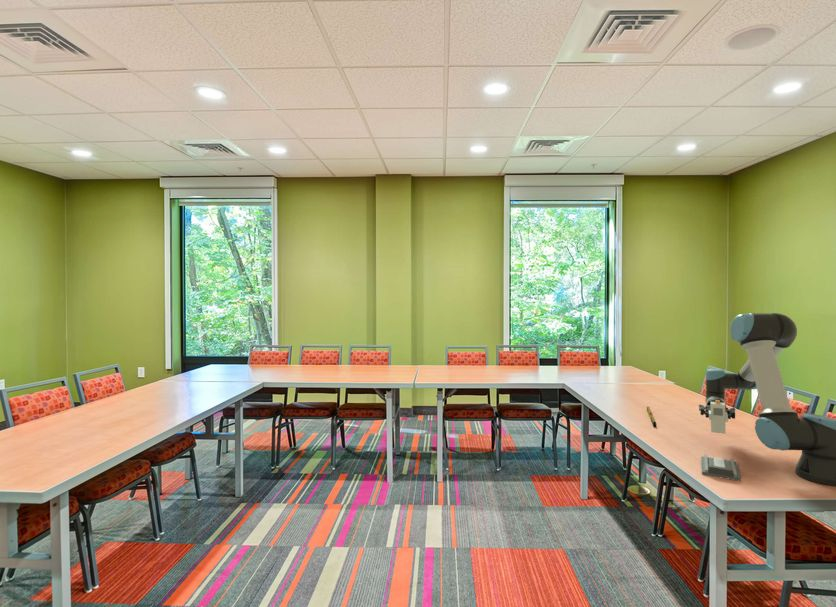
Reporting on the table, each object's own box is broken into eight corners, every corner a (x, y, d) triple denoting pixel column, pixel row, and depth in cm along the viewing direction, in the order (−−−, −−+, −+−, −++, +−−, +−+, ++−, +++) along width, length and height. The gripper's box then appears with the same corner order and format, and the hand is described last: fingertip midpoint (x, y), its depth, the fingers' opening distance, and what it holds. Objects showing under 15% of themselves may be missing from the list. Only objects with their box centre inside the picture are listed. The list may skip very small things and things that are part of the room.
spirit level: (646, 411, 260) (646, 406, 260) (649, 411, 259) (649, 406, 259) (653, 427, 229) (653, 421, 229) (656, 427, 229) (656, 421, 228)
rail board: (736, 464, 178) (736, 455, 178) (740, 481, 162) (740, 471, 162) (701, 458, 184) (701, 450, 184) (701, 474, 168) (701, 465, 168)
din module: (724, 430, 186) (724, 400, 186) (725, 434, 182) (725, 402, 182) (710, 429, 189) (710, 398, 189) (711, 432, 184) (710, 401, 184)
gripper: (740, 417, 196) (745, 430, 176) (693, 411, 205) (692, 423, 186) (740, 400, 196) (745, 411, 176) (692, 396, 205) (692, 406, 186)
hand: (718, 417), depth 181 cm, fingers closed on din module, 5 cm apart
